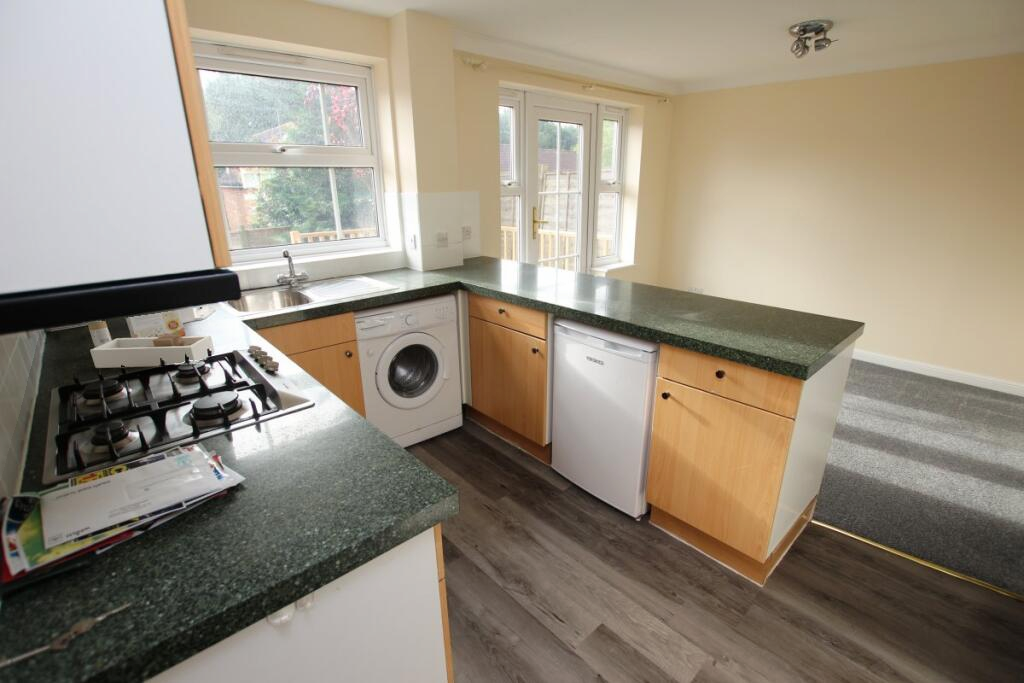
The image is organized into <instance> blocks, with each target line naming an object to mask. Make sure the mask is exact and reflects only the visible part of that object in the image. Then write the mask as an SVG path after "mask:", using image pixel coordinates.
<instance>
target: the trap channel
mask: <svg viewBox="0 0 1024 683" xmlns="http://www.w3.org/2000/svg"><path fill="white" fill-rule="evenodd" d="M181 337H182V341H183V345H184V346H170V347H154V343H153V340H155V339H157V338H159V337H149V338H132V337H122V338H119V337H118V338H115V339H112V341H110V342H107V343H105V344H103V345H100V346H98V347H96V348H95V347H94V348H91V349H90V350H89V351H90V352H89V353H90V354H91V358H92V361H93V363H94V367H95V368H96V369H102V368H103V369H104V368H105V369H106V368H122V367H121V365H122V364H123V365H124V366H125V367H124V368H135V367H136V368H137V367H138V368H139V367H140V368H141V367H160V366H159V365H160V358H163V359H164V361H165V362H166V363H167V364H171V363H182V362H184V361H185V353H186V354H187V356H188V357H189V359H190V360H193V361H194V360H200V359H203V358H205V357H206V356H207V349H208V348H210V349H211V351H212V353H213V354H215V353H214V352H215V348H214V343H213V339H212V335H198V336H197V335H193V336H190V335H188V336H186V335H185V336H181ZM205 359H206V358H205Z"/></svg>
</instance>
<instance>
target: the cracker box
mask: <svg viewBox="0 0 1024 683" xmlns="http://www.w3.org/2000/svg"><path fill="white" fill-rule="evenodd" d="M125 320H126V323H127V324H126V325H127V326H128V330H129V333H130V338H149V337H161V336H163V335H181V337H186V335H187V334H186V331H185V327H184V323H183V322H182V319H181V315H180V311H179V310H175V311H168V312H161V313H155V314H148V315H141V316H134V317H128V318H126V317H125Z"/></svg>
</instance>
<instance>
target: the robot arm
mask: <svg viewBox="0 0 1024 683" xmlns="http://www.w3.org/2000/svg"><path fill="white" fill-rule="evenodd" d="M216 310H217V309H216V308H215V307H211V306H209V305H208V306H206V307H199V308H190V309H183V310H179V311H180V315H181V319H182V322H183V324H185V323H190V322H193V321H202V320H205V319H206V318H207V317H208V316H210V315H211V314H213V313H214V312H215V311H216Z"/></svg>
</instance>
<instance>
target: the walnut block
mask: <svg viewBox="0 0 1024 683" xmlns="http://www.w3.org/2000/svg"><path fill="white" fill-rule="evenodd" d="M182 337H183V336H181V335H163V336H161V337H159V338H157V339H155V340H153V343H154V347H170V346H184V345H183V341H182Z"/></svg>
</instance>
